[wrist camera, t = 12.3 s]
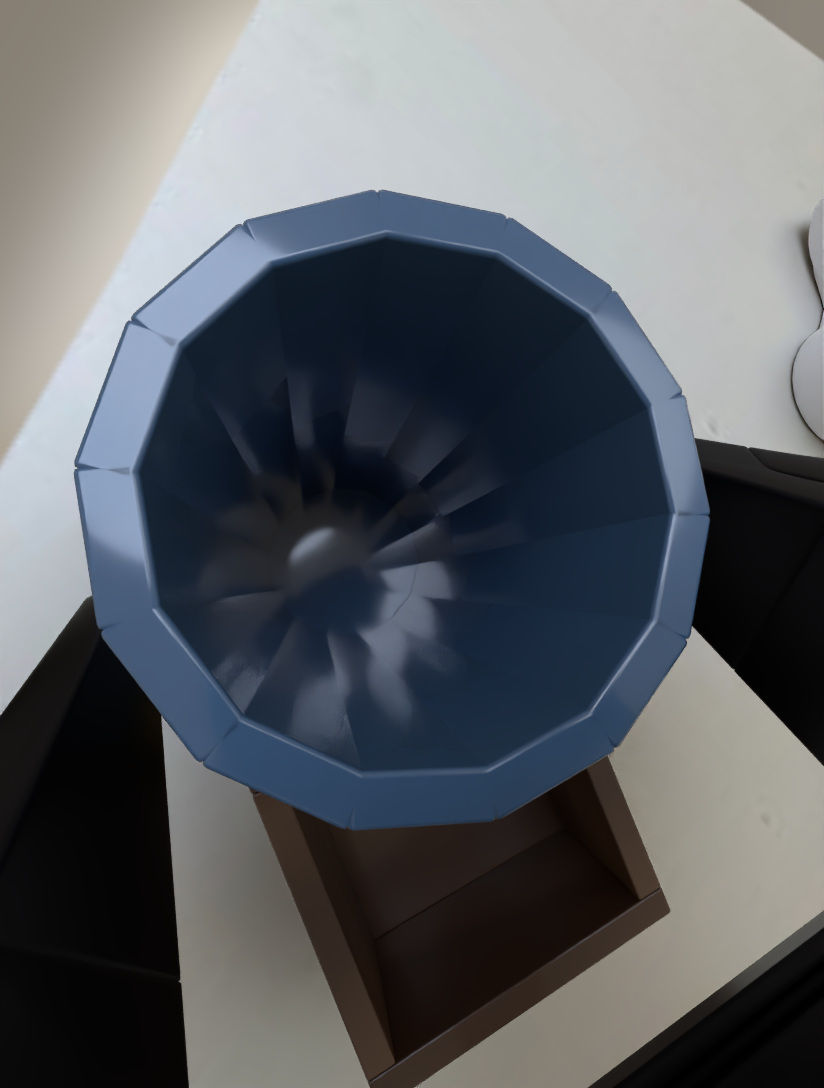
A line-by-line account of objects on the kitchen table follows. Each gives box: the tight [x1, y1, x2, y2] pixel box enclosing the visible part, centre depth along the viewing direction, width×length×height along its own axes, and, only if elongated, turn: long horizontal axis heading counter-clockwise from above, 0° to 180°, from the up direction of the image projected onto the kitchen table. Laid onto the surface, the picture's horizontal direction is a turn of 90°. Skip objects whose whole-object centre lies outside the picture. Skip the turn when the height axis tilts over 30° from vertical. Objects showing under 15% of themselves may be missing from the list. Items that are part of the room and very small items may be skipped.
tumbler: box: [74, 190, 710, 831], centre depth 11 cm, size 6×6×13 cm
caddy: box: [249, 756, 670, 1088], centre depth 16 cm, size 18×9×5 cm, turn 23°
